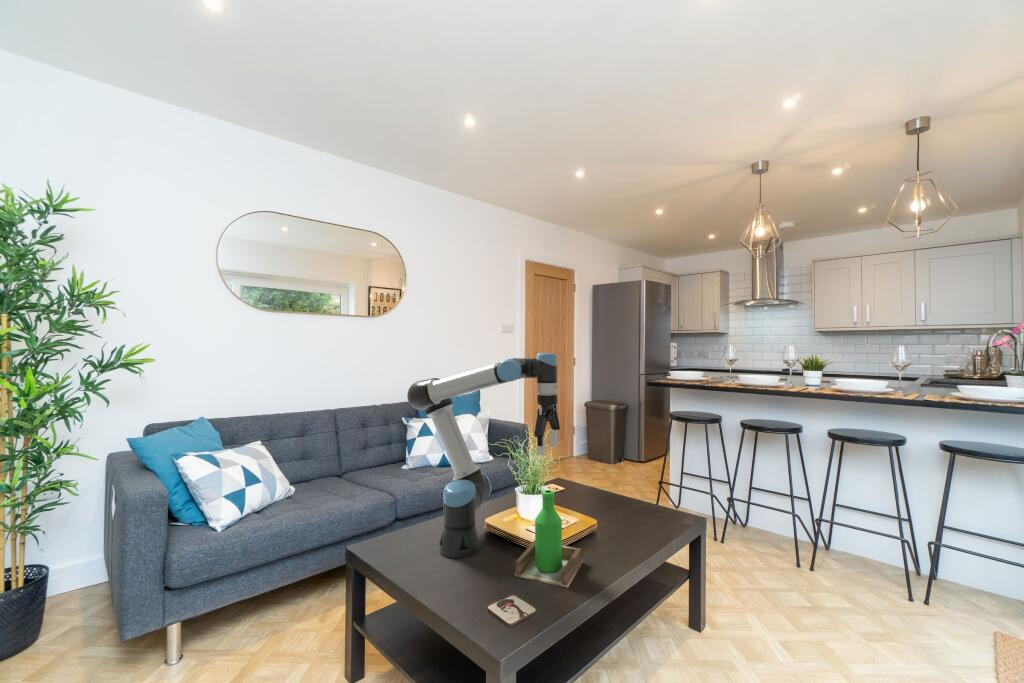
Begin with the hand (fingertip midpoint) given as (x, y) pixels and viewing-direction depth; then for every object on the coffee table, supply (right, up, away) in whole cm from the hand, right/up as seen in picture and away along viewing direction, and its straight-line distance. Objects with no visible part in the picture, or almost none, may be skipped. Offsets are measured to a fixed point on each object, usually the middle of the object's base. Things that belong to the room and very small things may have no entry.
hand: (547, 450), depth 166 cm
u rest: (-1, -35, -19) cm, 40 cm away
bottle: (-1, -34, -20) cm, 39 cm away
